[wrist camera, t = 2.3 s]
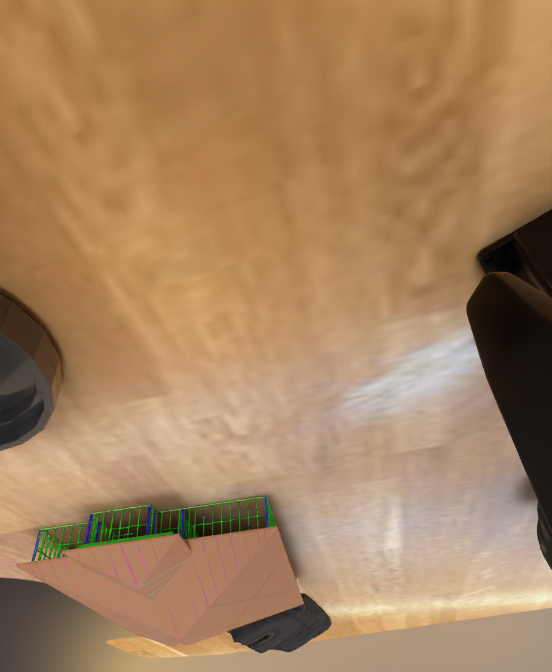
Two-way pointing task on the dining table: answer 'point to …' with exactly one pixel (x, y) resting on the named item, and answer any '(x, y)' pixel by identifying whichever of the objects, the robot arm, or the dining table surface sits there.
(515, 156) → the dining table surface
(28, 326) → the cast iron pan
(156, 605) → the house
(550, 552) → the squash
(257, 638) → the dark slate chunk
